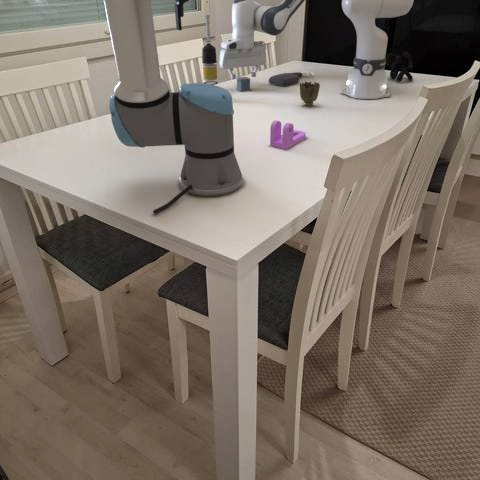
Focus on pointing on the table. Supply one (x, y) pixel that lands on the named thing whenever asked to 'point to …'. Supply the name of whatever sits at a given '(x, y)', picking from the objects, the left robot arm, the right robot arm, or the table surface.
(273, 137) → the bracket
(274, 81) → the spray bottle
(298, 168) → the table surface
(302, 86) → the cup
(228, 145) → the left robot arm
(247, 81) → the block
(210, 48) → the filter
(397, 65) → the squiggle
